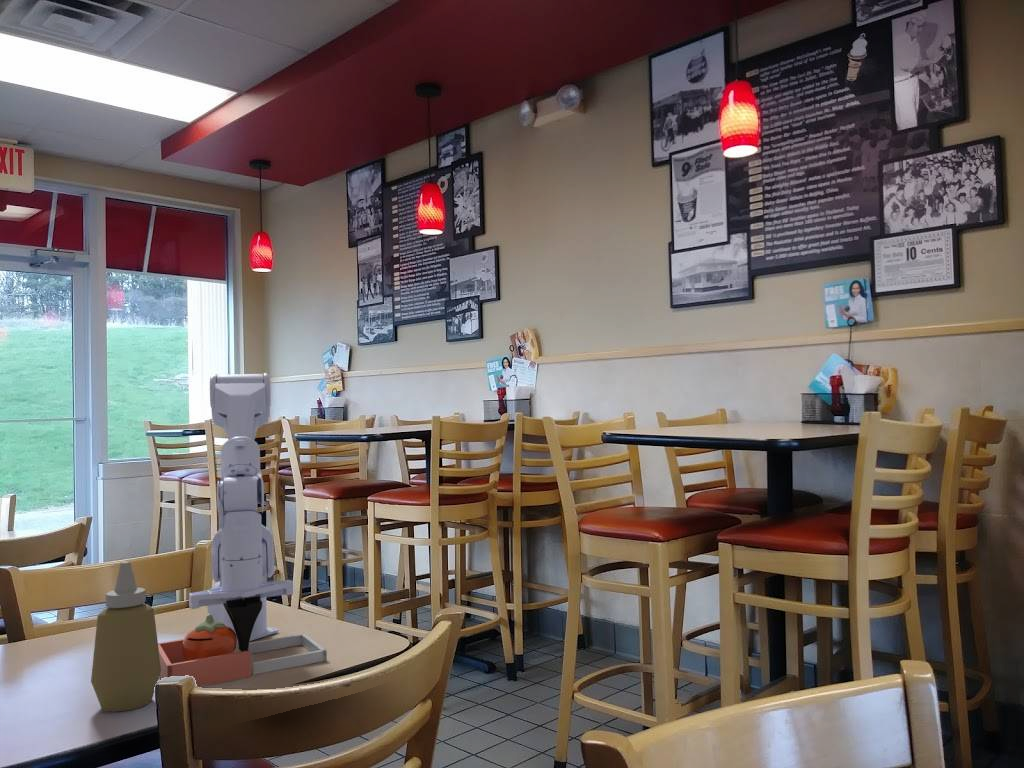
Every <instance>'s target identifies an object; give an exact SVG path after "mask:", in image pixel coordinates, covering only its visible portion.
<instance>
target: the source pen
mask: <svg viewBox="0 0 1024 768" xmlns="http://www.w3.org/2000/svg"><path fill="white" fill-rule="evenodd" d="M300 645H302V646H303V647H304V648H306V650H308V652H304V653H303V652H302V653H298V654H297V653H296V654H292V655H287V656H286V655H285V656H282V657H277V658H276V657H275V658H272V659H265V660H260V661H259V660H258V661H254V662H251V674H252V675H257V674H263V673H268V672H274V671H279V670H284V669H289V668H294V667H301V666H305V665H310V664H315V663H321V662H325V661H327V659H328V656H327V655H328V654H327V649H325V648H324V647H323V646H322V645H320V644H319V643H318V642H317V641H315V640H313V639H312V638H311V637H310V636H309V635H307V634H305V633H299V634H293V635H288V636H281V637H276V638H275V637H274V638H271V639H264V640H259V641H258V640H257V641H250V642H249V647H248V650H250V651H251V654H255V653H262V652H267V651H272V650H278V649H279V650H280V649H285V648H288V647H289V648H290V647H297V646H300ZM237 652H241V651H240V650H239V645H238V644H236V650H235V653H237Z"/></svg>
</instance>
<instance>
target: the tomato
mask: <svg viewBox="0 0 1024 768" xmlns="http://www.w3.org/2000/svg"><path fill="white" fill-rule="evenodd" d="M205 617H206V618H205V620H204V621H202V622H199V623H198V625H197V626H195V628H194V629H192V630H190V631H189V632H188V633H187V634H186V635H185V637H184V638H183V639H184V641H183V646H182V650H183V655H184V657H185V660H186V661H191V660H197V659H203V658H208V657H214V656H220V655H226V654H231V653H236V645H238V643H237V638H236V634H235V632H234V630H232V629H231V628H230V627H228V626H225V625H224V623H222V622H219V621H216V620H213V617H212V615H208V614H207V615H206V616H205Z"/></svg>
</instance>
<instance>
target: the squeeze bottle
mask: <svg viewBox="0 0 1024 768" xmlns="http://www.w3.org/2000/svg"><path fill="white" fill-rule="evenodd" d="M117 573H118V574H117V578H116V582H115V586H114V590H110V591H108V592H107V593H105V607H107V608H104V609H103V610H102V611H101V612H99V614H98V615H97V617H96V628H95V638H94V639H95V640H94V647H93V658H92V669H91V676H90V678H91V679H90V683H91V686H92V687H93V691H94V693H95V695H96V697H97V700H98V703H99V705H100V708H101V709H102V710H103V711H108V712H123V711H130V710H133V709H137V708H141V707H143V706H146V705H147V704H149V703H151V702H152V700H153V697H154V693H155V691H154V687H155V684H156V683H157V684H158V682H159V681H158V680H159V679H160V677H159V675H160V672H161V665H160V657H159V648H158V643H159V641H158V634H157V633H158V631H157V625H156V617H155V609H154V607H152V606H151V605H149V604H148V603H145V602H146V601H147V590H146V589H145V588H144V587H137V583H136V579H135V575H134V571H133V567H132V563H131V561H124V562H120V565H119V568H118V572H117ZM157 681H158V682H157Z"/></svg>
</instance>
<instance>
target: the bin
mask: <svg viewBox="0 0 1024 768" xmlns="http://www.w3.org/2000/svg"><path fill="white" fill-rule="evenodd" d="M183 641H184V638H182V639H176V640H170V641H164V642H158V648H159V657H160V665H161V672H160V675H159V679H160V680H161V678H164V677H170V676H185V675H189V676H193V677H194V678H195V680H196V684H197V686H199V687H205V686H209V685H214V684H219V683H225V682H231V681H235V680H241V679H247V678H251V677H252V653H251V651H250V650H248V651H243V652H237V653H236V652H235V653H231V654H226V655H220V656H214V657H208V658H203V659H197V660H191V661H186V660H185V657H184V655H183V650H182V646H183Z"/></svg>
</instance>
